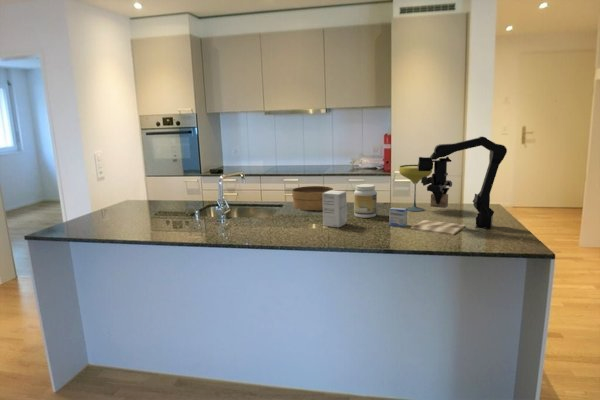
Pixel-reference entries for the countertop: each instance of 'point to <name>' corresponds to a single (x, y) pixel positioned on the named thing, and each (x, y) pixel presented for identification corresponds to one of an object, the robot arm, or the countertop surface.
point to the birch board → (438, 227)
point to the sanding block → (442, 203)
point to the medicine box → (398, 217)
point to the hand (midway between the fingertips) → (439, 203)
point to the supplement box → (334, 208)
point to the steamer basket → (309, 197)
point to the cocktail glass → (413, 180)
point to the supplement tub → (365, 201)
